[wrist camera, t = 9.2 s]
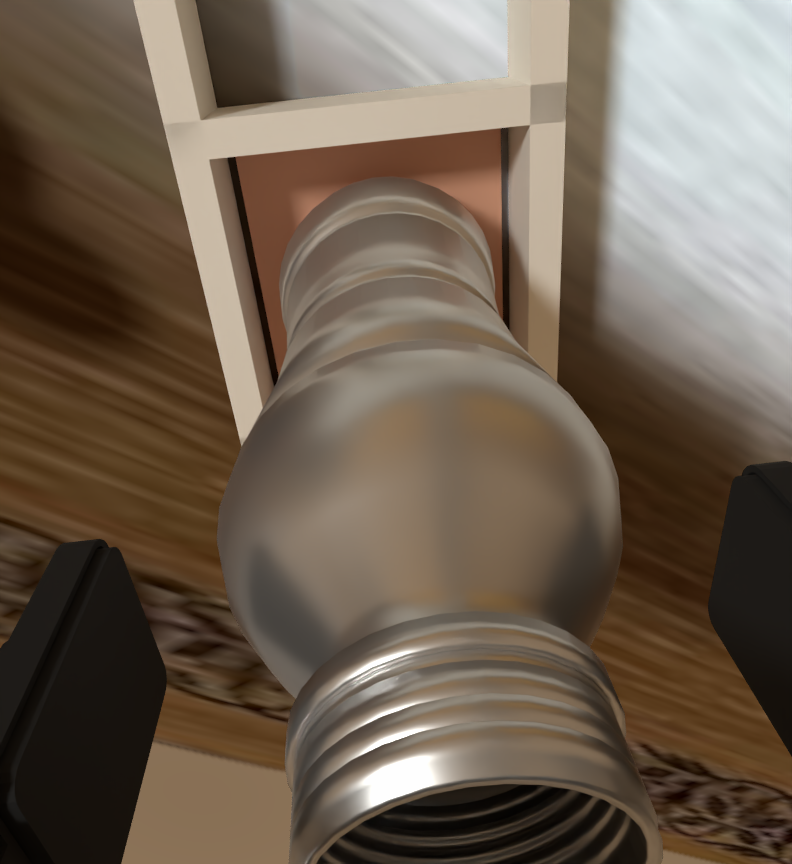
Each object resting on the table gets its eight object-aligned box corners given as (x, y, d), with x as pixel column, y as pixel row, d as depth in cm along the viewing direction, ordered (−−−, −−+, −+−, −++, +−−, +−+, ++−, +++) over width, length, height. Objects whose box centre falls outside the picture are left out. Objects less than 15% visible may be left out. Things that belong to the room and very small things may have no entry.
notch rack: (79, -357, 16) (29, -426, 14) (547, -403, 16) (585, -481, 14) (296, 606, 32) (292, 657, 30) (532, 578, 32) (549, 627, 30)
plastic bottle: (510, 290, 25) (886, 910, 8) (347, 380, 26) (356, 1073, 9) (423, 120, 22) (724, 511, 5) (244, 231, 23) (-38, 852, 6)
